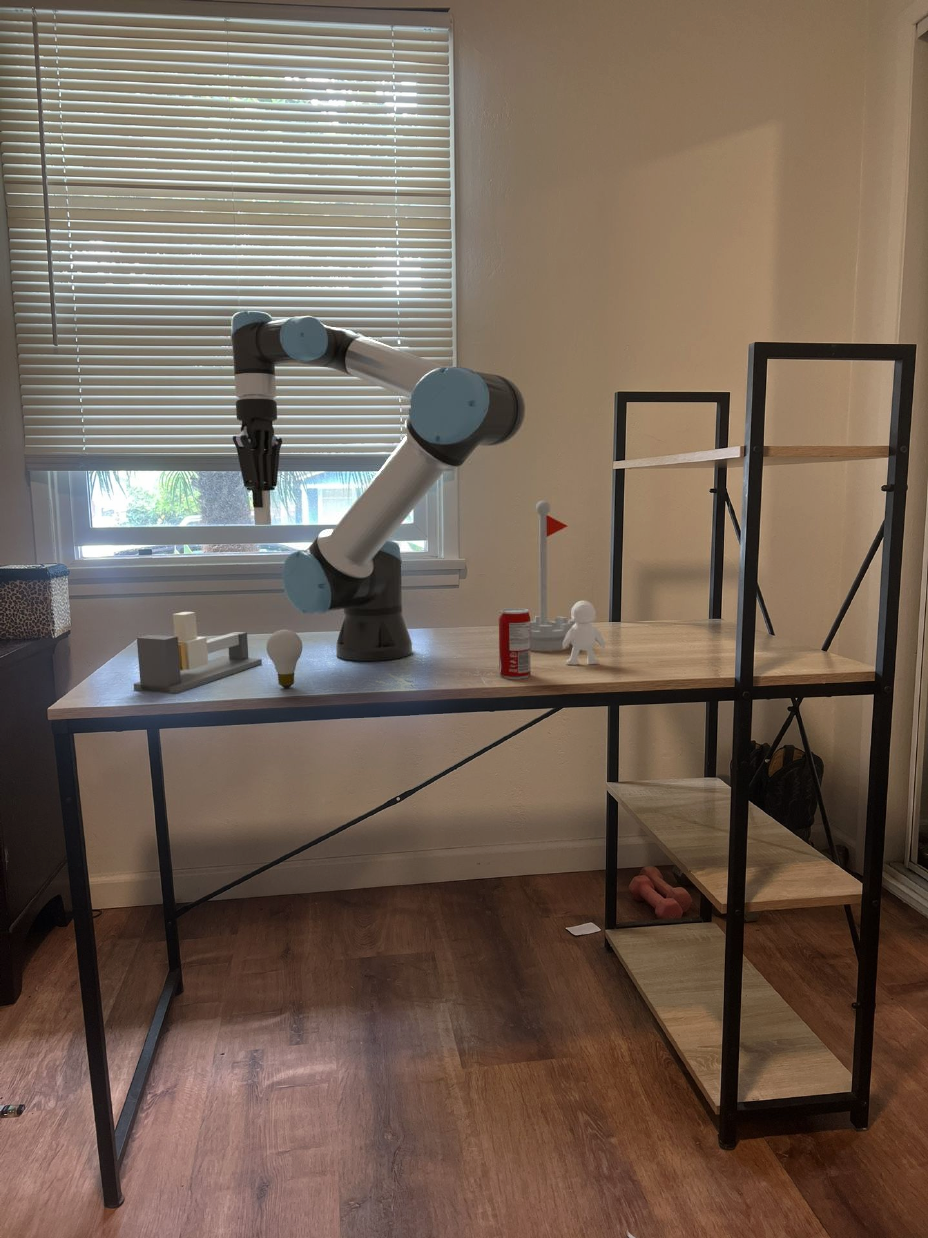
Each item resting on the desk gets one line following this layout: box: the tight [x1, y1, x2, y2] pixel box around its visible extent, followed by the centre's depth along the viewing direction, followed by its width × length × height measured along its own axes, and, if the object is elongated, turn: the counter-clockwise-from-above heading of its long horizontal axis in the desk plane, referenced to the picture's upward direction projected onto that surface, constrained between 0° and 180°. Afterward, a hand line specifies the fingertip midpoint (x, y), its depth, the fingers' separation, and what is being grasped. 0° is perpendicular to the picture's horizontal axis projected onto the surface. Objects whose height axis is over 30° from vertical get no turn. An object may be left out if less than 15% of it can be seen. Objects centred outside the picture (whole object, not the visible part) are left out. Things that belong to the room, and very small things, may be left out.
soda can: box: [498, 607, 531, 680], centre depth 146 cm, size 6×6×12 cm
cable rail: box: [133, 631, 263, 694], centre depth 151 cm, size 9×24×9 cm, turn 158°
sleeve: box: [172, 611, 209, 670], centre depth 147 cm, size 5×5×9 cm
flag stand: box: [530, 500, 576, 652], centre depth 172 cm, size 13×13×30 cm
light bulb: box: [266, 628, 303, 689], centre depth 141 cm, size 6×6×10 cm
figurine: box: [562, 600, 606, 666], centre depth 155 cm, size 8×5×12 cm, turn 93°
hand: (262, 524), depth 162 cm, fingers closed
